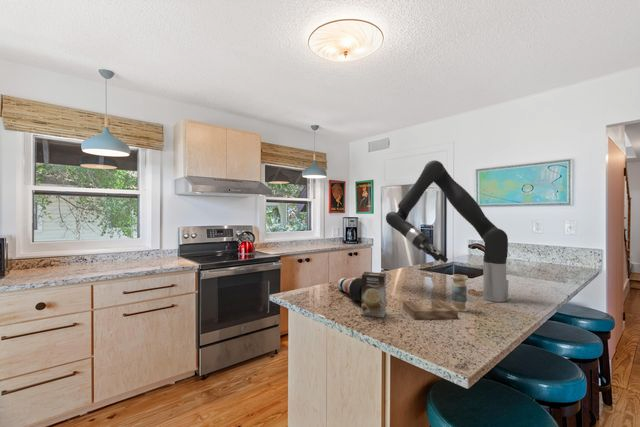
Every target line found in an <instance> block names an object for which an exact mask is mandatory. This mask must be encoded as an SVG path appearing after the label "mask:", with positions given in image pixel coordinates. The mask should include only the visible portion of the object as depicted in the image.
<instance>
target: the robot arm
mask: <svg viewBox="0 0 640 427" xmlns="http://www.w3.org/2000/svg"><path fill="white" fill-rule="evenodd" d="M433 183H435V185H436V186H438V187H439V189H440V190H441V191H442V192H443V194H444V195H445V197H446V199H447V200H448V202H449V203H450V205H451V206H452V207H453V208H454V209H455V211H457V212H458V214H459V215H460V216H461V217H462V218H463V219H464V220H465V221H467V222H468V223H469V224H470V225H471V226H472V227H473V228H474V230H475V231H476V232H477V233H478V235H479V236H480V238H481V239H482V241H483V242H484V254H483V261H482V262H483V265H482V266H483V268H482V270H483V272H482V273H483V274H482V275H483V276H482V277H483V283H482V284H483V286H482V287H483V290H482V291H483V294H482V296H483V297H482V298H483V299H484V300H486V301H489V302H497V303H504V302H505V303H506V302H508V301H509V279H507V259H508V254H509V253H508V252H509V237H508V234H507V232H506V231H505V230H503V229H501V228H498V227H497V226H496V225H495V224H494V223H493V222H492V221H491V220H490V219H489V218H488V217H487V216H486V215H485V212H484V211H483V210H482V208H481V206H480V205H479V204H478V202H477V201H476V200H475V198H474V197H472V195H471V194H470V193H469V192H468V191H467V190H466V189H465V188H464V187H463V186H462V185H461V184H459V183H458V182H456V180H454V178H453V177H452V176H451V175H450V174H449V172H448V171H447V169H446V168H445V166H444V164H443V163H442V162H441V161H438V160H431V161H428V162H427V163H426V164H425V165H424V168H423V170H422V172H421V173H420V175H419V176H418V178H417V180H416V181H415V183H414V184H413V185H412V186H411V188H410V189H409V190H408V192H406V194H405V195H404V197H402V199H401V200H400V201H399V203H398V204H397V208H398V210H397V212H395V211H389V212H388V213H386V216H385V221H386V223H387V225H389V226H390V227H392V228H393V229H394V230H396V231H397V232H399V233H400V234H401V235H402V236H403V237H404V238H406V240H407V241H408V242H409V243H410V244H411V245H413V246H414V247H415V248H416V249H417V250H418V251H423V252H424V253H426V255H429V256H430V257H432V259H434V260H435V261H437V262H440V260H441V261H442V262H443V263H447V262H448V260H449V258H448V257H447V256H445V255H444V253H443V252H442V251H441V250H440V249H438V248H437V247H436V246H435V245H433V244H432V243H431V244H430V241H431V238H429V237H428V235H426V234H424V232H422V231H421V229H419V228H417V227H415V226H414V225H413V224H412V223H410V222H409V221H406V220H407V218H408V216H409V215H410V212H411V211H412V210H413V208H414V207H416V205H417V204H418V202H419V201H420V200H421V198H422V196H423V194H425V192H426V191H427V189H428V188H429V187H430V186H431V185H432V184H433Z"/></svg>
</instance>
